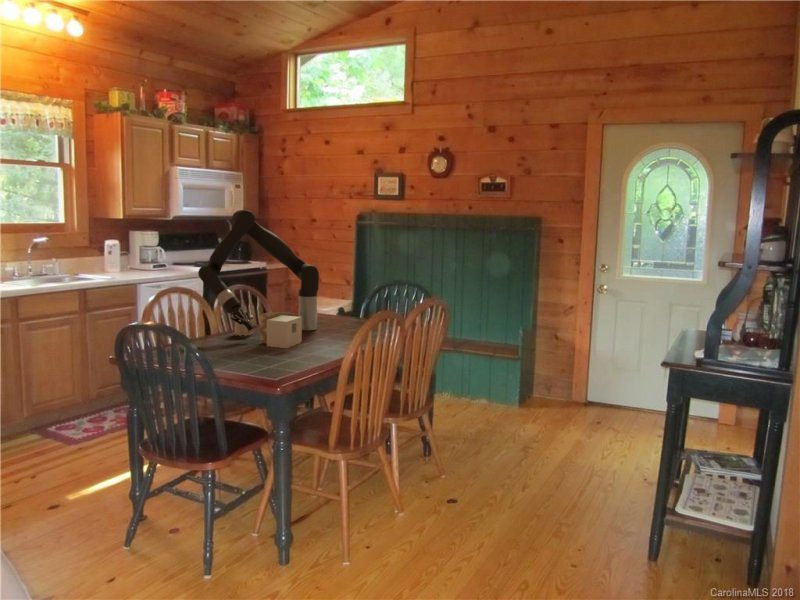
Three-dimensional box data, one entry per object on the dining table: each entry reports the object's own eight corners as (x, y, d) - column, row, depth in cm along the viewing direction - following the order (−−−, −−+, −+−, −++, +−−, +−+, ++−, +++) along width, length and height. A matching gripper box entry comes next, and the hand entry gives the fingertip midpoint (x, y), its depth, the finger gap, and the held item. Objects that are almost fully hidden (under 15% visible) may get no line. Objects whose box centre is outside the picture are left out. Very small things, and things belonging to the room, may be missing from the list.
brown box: (260, 342, 298) (259, 314, 296) (269, 339, 305) (269, 312, 303) (289, 346, 293) (289, 317, 291) (298, 342, 300) (298, 314, 298)
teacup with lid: (251, 336, 314) (251, 312, 312) (232, 336, 313) (232, 312, 312) (256, 331, 326) (255, 308, 324) (237, 331, 325) (237, 308, 324)
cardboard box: (266, 346, 293) (266, 319, 292) (282, 340, 306) (282, 315, 305) (286, 348, 290) (286, 321, 288) (301, 342, 303) (301, 317, 301)
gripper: (225, 297, 298) (249, 326, 295) (241, 294, 310) (264, 322, 308) (215, 308, 300) (238, 336, 298) (232, 304, 312) (254, 332, 310)
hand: (251, 329), depth 303 cm, fingers closed
